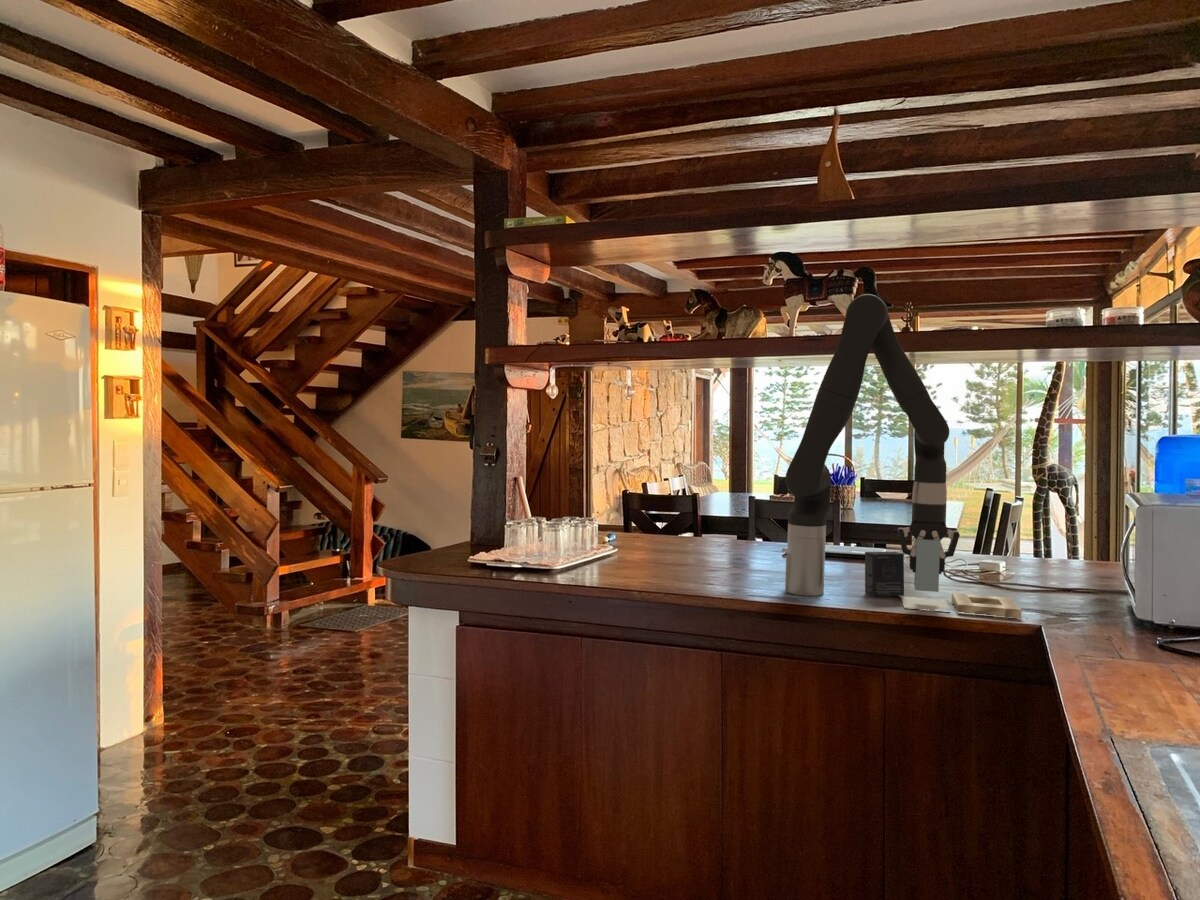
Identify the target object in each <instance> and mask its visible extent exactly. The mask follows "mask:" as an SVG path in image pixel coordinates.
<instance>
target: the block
mask: <svg viewBox="0 0 1200 900" xmlns="http://www.w3.org/2000/svg"><path fill="white" fill-rule="evenodd" d="M940 542H941V541H940V540H933V539H917V549H916V573H915V572H914V581H913V582H914V586H913V587H914V589H915V591H920V592H921V591H922V592H935V593H939V589H940V587H939V582H940V574H939V561H940Z"/></svg>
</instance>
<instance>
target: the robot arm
mask: <svg viewBox="0 0 1200 900" xmlns="http://www.w3.org/2000/svg"><path fill="white" fill-rule="evenodd" d="M844 316H845V317H844V320H843V325H842V329H841V333H840V336H839V341H838V343H837V344H838V345H837V346H836V349H835V352H834V354H833V356H832V358H831V360H830V362H829V364H828V366H827V369H826V370H825V373H824V375H823V378H822V381H821V382H820V385H819V388H818V391H817V392H816V393H817V394H816V397H815V399H814V402H813V406H812V409H811V412H810V414H809V417H808V420H807V424H806V427H805V429H804V432H803V436H802V438H801V441H800V442H799V444H798V448H797V450H796V451H795V452H794V453H795V454H794V456H793V457H792V459H791V461H790V463H789V466H788V468H787V470H786V473H785V478H784V479H785V486H786V489H787V491H788V492H789V493H790V494H791V495H792V496H794V499H793V505H792V507H791V508H790V510H789V512H788V517H787V519H788V520H787V548H786V550H787V551H786V556H785V578H784V581H785V582H784V583H785V584H784V588H785V589H784V593H785V594H786V593H787V594H792V595H797V596H810V597H811V596H821V595H824V592H825V591H824V590H825V565H826V563H825V562H826V533H827V518H828V514H829V512H830V506H831V503H830V502H831V493H832V491H831V489H832V478H831V477H832V476H831V472H830V469H829V468H828V467H827V465H826V461H827V458H828V455H829V452H830V450H831V448H832V446H833V444H834V442H835V441H836V440H837V438H838V437H839V436H840V434H841V432H842V430H843V429H844V428H845V427H846V425H847V423H848V421H849V419H850V417H851V416H852V413H853V410H854V408H855V405H856V403H857V400H858V397H859V394H860V391H861V387H862V383H863V379H864V374H865V369H866V364H867V359H868V356H869V354H870V350H871V351H872V352H873V354H874V356H875V358H876V360H877V362H878V364H879V366H880V369H881V372H882V373H883V375H884V378H885V380H886V383H887V384H888V385H887V386H888V387H889V389H890V391H891V393H892V395H893V397H894V398H895V400H896V402H897V404H898V405H899V407H900V409H901V410H902V412H903V413H905V414H906V415H907V418H908V419H909V421H910V424H911V425H912V427H913V430H914V433H913V438H914V439H913V443H914V445H913V446H914V456H915V460H914V461H915V462H914V472H913V473H914V474H913V487H912V495H911V501H912V503H911V523H910V524H909V526H908V527H898V528H897V533H898V537H899V542H900V543H899V544H900V546H901V547H900V548H901V551H902V552H901V553H904V555H905V554H906V555H908V556H909V569H910V570H911V571H912V573H914V574H915V573H916V549H917V539H933V540H940V561H939V575H942V573H944V572H945V569H946V566H945V565H946V564H945V563H946V559H947V558H949V557H954V554H955V552H956V548H957V545H958V542H959V539H960V536H961V535H960V532H959V531H958V530H951V529H949V528H948V527H947V523H946V522H947V502H948V500H947V499H948V498H947V496H948V495H947V494H948V491H947V490H948V489H947V462H946V460H945V444H946V442H947V441H948V439H949V436H950V427H949V424H948V423H947V420H946V419H945V417H944V416H943V414H942V413H941V411H940V409H939V408H938V407H937V405H936V404H935V402H934V401H933V400H932V398H931V395H930V394H929V391H928V389H927V388H926V386H925V384H924V382H923V380H922V379H921V376H920V374H919V373H918V371H917V370H916V368H915V366H914V365H913V363H912V362H911V360H910V359H909V357H908V355H907V354H906V353H905V351H904V349H903V347H902V345H901V343H900V342H899V339H898V336H897V335H896V333H895V331H894V327H893V324H892V322H891V318H890V316H889V308H888V307H887V305H886V303H885V302H884V300H883V299H882V298H880V297H878V296H877V295H874V294H871V293H864V294H861V295H858V296H857V297H855V298H853V300H852V301H850V303H848V306H847V308H846V312H845V315H844ZM909 532H910V533H911V535H912V537H913V538H914V541H913V544H912V547H911V549H910V548H909V547H908V546H907V542H906V541H907V540H906V538H907V537H908V536H909ZM946 535H948V538H949V540H950V541H949V544H948V548H947V550H944V548H943V544H942V542H941V541H942V540H943V539H944V538H945V537H946Z"/></svg>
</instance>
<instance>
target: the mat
mask: <svg viewBox="0 0 1200 900" xmlns="http://www.w3.org/2000/svg"><path fill="white" fill-rule="evenodd" d="M900 597H901V598H900V599H901V603H902V602H903V603H902V606H904V607H903V609H904V608H914V609H927V610H928V609H929V610H935V609H940V608H943V607H944V608H946V607H947V608H949V609H950V607H949V605H948V602H947V601H946V599H940V598H939V599H938V598H937V599H936V598H928V597H927V598H925V597H912V596H900Z"/></svg>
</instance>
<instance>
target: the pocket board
mask: <svg viewBox="0 0 1200 900" xmlns="http://www.w3.org/2000/svg"><path fill="white" fill-rule="evenodd" d="M952 602H953V603H952ZM951 603H952V605H953V604H954V605H953V607H954V606H955V608H956V609H957V611H958V612H964V613H975V614H986V615H996V616H1005V617H1013V618H1020V619H1021V620H1022V609H1021V607H1020V606H1019V605H1018V604H1017V603H1016V601H1015V600H1014V599H1013V598H1012V597H1008V596H997V595H996V596H994V595H985V594H983V595H982V594H970V593H958V592H957V593H956V592H952V593H951ZM955 608H954V609H955Z"/></svg>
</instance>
